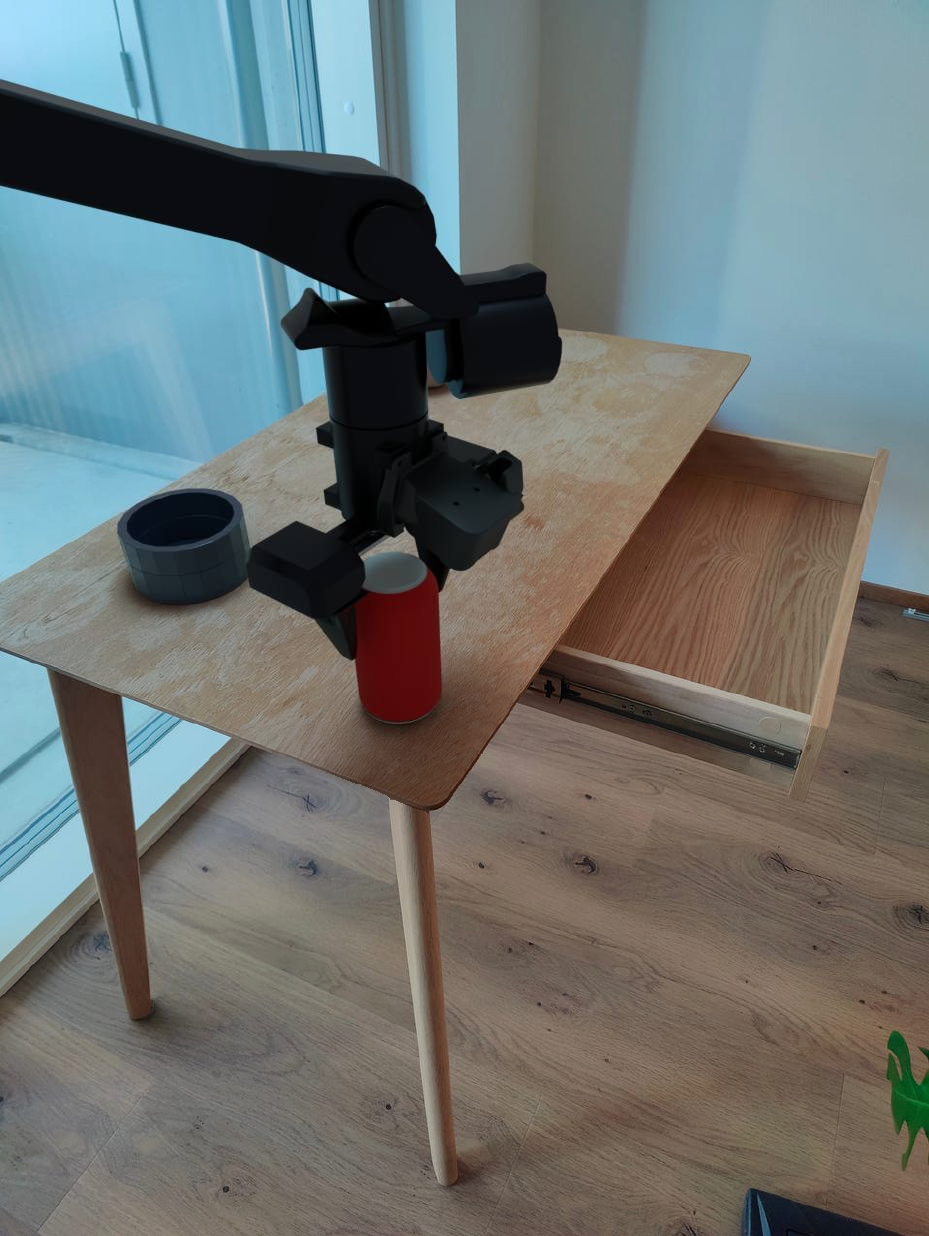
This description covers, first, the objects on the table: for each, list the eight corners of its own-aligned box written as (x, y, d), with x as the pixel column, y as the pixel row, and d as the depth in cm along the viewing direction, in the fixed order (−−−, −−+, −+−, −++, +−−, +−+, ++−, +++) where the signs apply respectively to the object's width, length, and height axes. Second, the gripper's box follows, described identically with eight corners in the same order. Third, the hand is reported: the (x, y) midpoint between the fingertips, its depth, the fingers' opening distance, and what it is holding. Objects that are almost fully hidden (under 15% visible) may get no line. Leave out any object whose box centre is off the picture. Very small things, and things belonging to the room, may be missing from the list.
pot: (184, 619, 70) (170, 566, 67) (108, 577, 75) (91, 525, 72) (277, 562, 77) (267, 510, 74) (201, 526, 82) (190, 476, 79)
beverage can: (354, 730, 60) (337, 596, 53) (366, 673, 65) (352, 542, 57) (439, 732, 60) (434, 598, 52) (445, 674, 65) (440, 544, 57)
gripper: (378, 521, 38) (396, 754, 48) (582, 389, 50) (564, 598, 60) (216, 455, 44) (262, 678, 53) (436, 350, 55) (441, 547, 65)
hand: (394, 622), depth 58 cm, fingers open, 9 cm apart
